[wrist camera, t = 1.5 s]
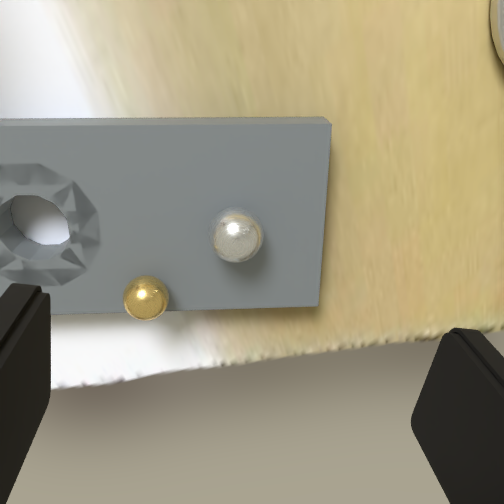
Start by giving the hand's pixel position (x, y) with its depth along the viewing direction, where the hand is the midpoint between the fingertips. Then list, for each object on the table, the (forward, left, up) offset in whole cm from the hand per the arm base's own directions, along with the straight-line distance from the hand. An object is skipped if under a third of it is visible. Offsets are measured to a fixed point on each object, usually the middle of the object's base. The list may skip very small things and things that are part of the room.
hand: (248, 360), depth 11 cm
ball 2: (0, +5, -19) cm, 19 cm away
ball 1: (+6, +9, -19) cm, 22 cm away
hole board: (+7, +5, -23) cm, 24 cm away
